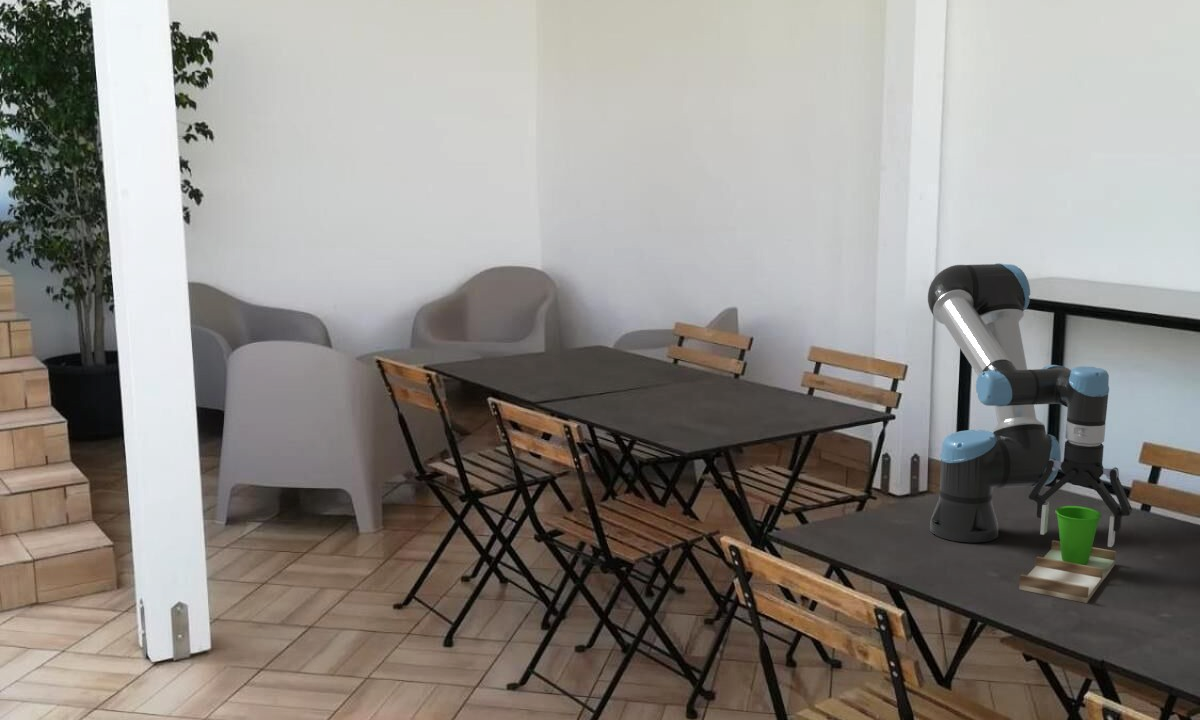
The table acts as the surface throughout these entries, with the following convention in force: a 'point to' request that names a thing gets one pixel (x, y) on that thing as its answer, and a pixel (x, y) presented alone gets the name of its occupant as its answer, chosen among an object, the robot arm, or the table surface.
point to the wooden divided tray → (1068, 574)
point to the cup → (1077, 532)
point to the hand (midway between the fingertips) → (1076, 539)
